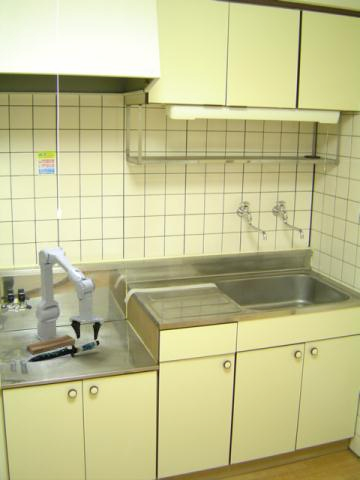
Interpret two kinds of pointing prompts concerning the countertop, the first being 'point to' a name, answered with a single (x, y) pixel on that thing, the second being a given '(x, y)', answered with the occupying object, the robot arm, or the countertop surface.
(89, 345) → the knife
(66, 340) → the walnut board
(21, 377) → the countertop surface
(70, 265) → the robot arm
